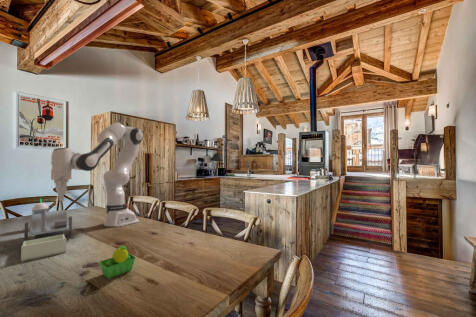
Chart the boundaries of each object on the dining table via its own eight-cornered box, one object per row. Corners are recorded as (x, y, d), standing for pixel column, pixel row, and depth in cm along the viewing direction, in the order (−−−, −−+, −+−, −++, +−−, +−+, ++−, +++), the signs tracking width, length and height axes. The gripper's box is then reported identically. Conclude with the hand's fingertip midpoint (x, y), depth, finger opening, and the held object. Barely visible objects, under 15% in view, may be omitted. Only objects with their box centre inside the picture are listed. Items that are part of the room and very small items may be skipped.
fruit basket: (127, 264, 94) (128, 238, 94) (137, 270, 88) (137, 243, 88) (98, 274, 85) (98, 246, 85) (106, 282, 79) (107, 252, 80)
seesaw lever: (65, 211, 140) (65, 206, 140) (68, 229, 120) (69, 223, 119) (31, 215, 129) (31, 210, 129) (29, 235, 109) (29, 229, 108)
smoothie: (40, 230, 138) (41, 199, 138) (27, 230, 138) (28, 199, 138) (52, 226, 146) (52, 197, 147) (40, 226, 146) (40, 197, 147)
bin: (63, 243, 117) (64, 230, 117) (66, 252, 105) (66, 238, 105) (23, 251, 106) (23, 237, 106) (21, 262, 95) (21, 246, 95)
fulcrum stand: (71, 233, 132) (71, 216, 133) (71, 235, 130) (72, 217, 130) (24, 242, 119) (25, 222, 119) (24, 243, 116) (24, 223, 116)
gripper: (70, 177, 114) (70, 202, 114) (67, 175, 130) (66, 197, 129) (54, 177, 110) (54, 204, 110) (53, 175, 125) (53, 199, 125)
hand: (61, 200), depth 120 cm, fingers closed
